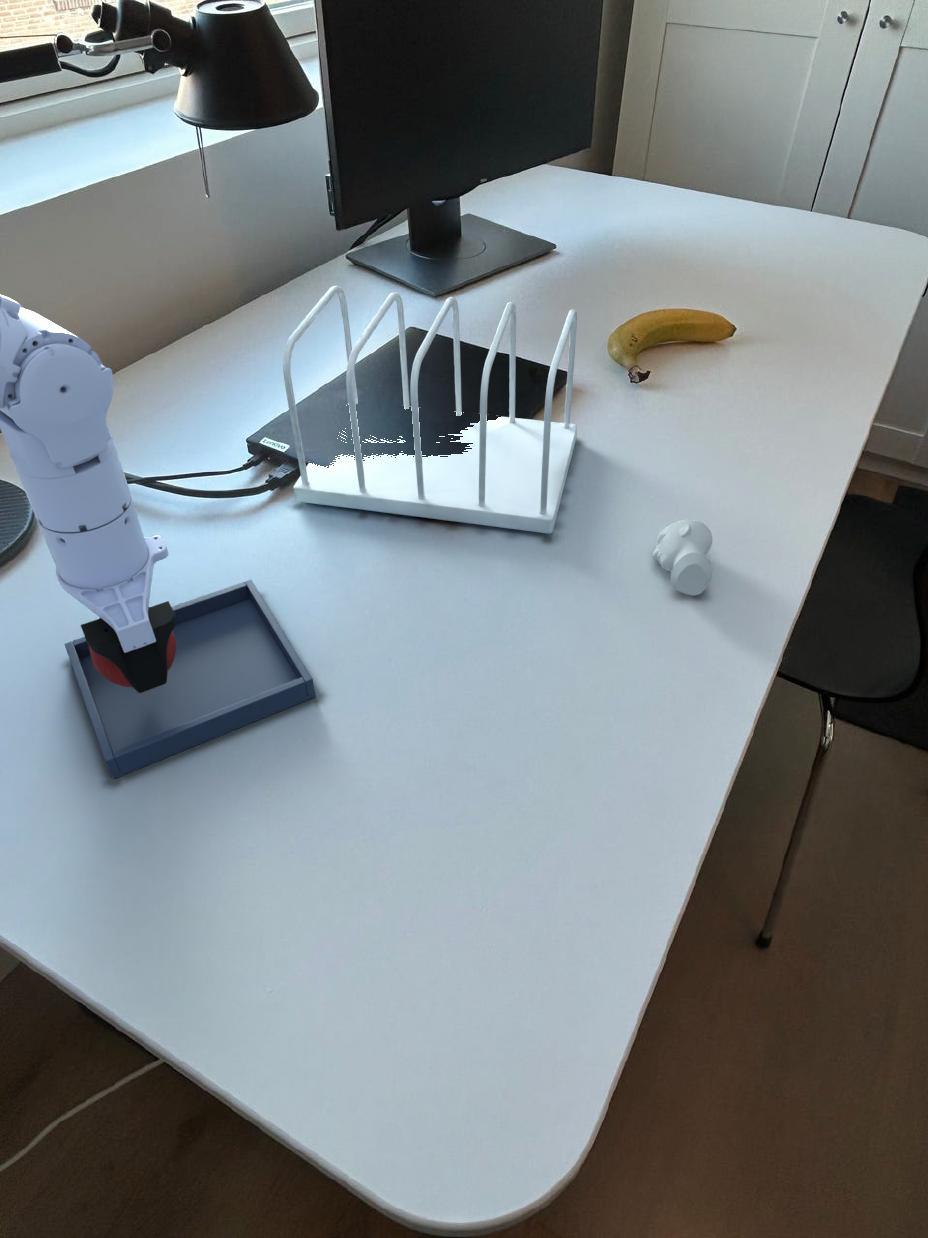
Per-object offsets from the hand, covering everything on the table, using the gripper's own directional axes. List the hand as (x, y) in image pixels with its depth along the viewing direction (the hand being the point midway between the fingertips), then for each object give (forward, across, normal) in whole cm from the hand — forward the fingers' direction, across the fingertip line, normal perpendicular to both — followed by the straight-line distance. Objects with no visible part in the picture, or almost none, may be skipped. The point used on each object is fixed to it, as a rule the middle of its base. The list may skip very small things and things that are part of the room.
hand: (139, 657), depth 64 cm
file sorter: (+4, +15, -34) cm, 37 cm away
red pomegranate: (+3, 0, 0) cm, 3 cm away
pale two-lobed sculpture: (+4, -9, -44) cm, 45 cm away
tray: (+4, 0, -3) cm, 5 cm away
